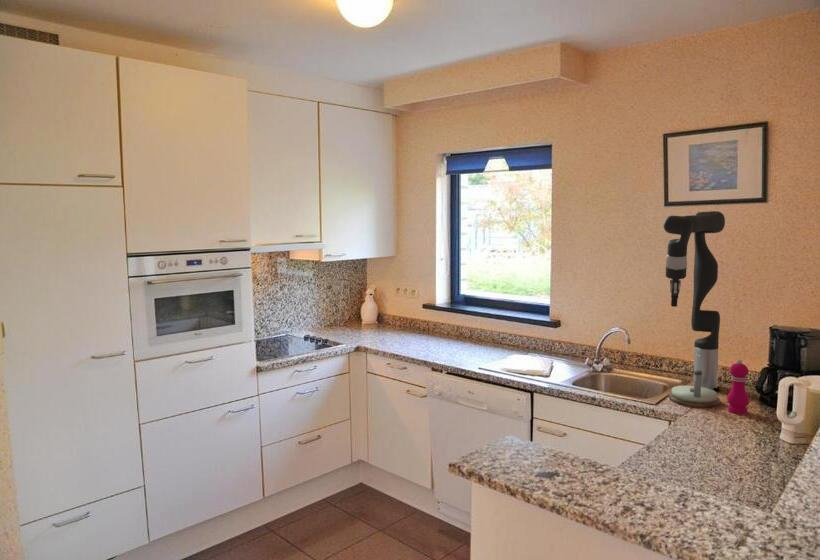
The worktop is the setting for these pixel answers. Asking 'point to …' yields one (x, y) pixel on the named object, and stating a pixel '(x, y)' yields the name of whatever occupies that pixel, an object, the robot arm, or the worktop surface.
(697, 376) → the dial
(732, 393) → the pepper mill
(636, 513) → the worktop surface
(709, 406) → the grey flat disc
